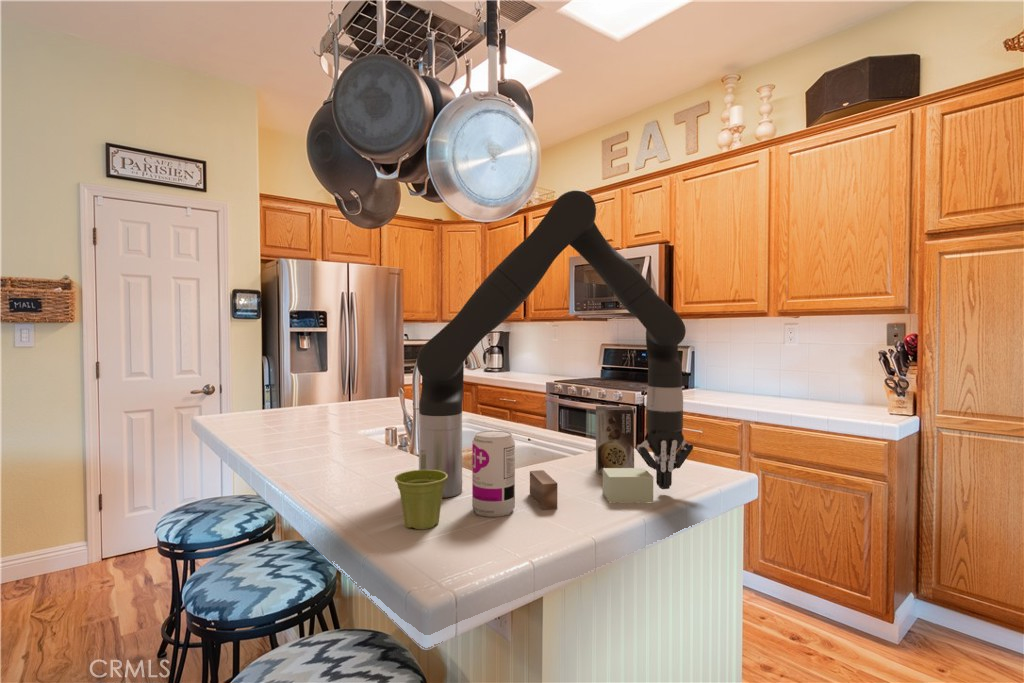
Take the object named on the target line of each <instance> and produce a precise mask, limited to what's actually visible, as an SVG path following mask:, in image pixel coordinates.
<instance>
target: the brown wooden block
mask: <svg viewBox="0 0 1024 683" xmlns="http://www.w3.org/2000/svg"><path fill="white" fill-rule="evenodd" d="M529 495H530V496H531V498H532V499H533V500H534V501H535V503H537V505H538V506H539V507H540V508H541V510H556V509H558V482H557V481H556V480H555V479H553V478H552V477H551V476H550V475H549V474H548V473H547V472H546V471H545V470H543V469H542V470H541V469H539V470H529Z"/></svg>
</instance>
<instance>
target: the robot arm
mask: <svg viewBox="0 0 1024 683" xmlns="http://www.w3.org/2000/svg"><path fill="white" fill-rule="evenodd" d="M596 217H597V206H596V202H595V200H594V199H593V197H592V196H591V195H590V194H589V193H587V192H586V191H584V190H581V189H580V190H579V189H574V190H569V191H567V192H564V193H563V194H561V195H560V196H558V198H557V199H556V200H555V202H554V203H553V204H552V206H551V207H550V208H549V210H548V211H547V212H546V213H545V215H544V216H543V218H542V220H540V222H539V224H538V225H537V226H536V227H535V228H534V229H533V231H532V232H531V233H530V234H529V235H528V236H526V238H525V239H524V240H523V241H522V242H521V243H519V244H518V245H517V246H516V247H515V248H514V249H513V250H512V251H511V252H510V253H509V254H508V255H506V256H505V258H504V259H503V260H501V262H500V263H499V264H498V265H497V266H496V267H495V268H494V269H493V270H492V271H491V272H490V274H488V275H487V277H486V278H485V279H484V280H483V281H482V283H480V285H479V286H478V287H477V288H476V290H475V291H474V292H473V293H472V295H470V297H469V298H468V300H467V301H466V302H465V304H464V305H462V307H461V309H460V310H459V312H458V313H457V314H456V315H455V316H454V317H453V319H452V320H450V321H449V322H448V324H446V325H445V326H444V327H443V328H442V329H441V330H440V331H439V332H437V333H436V334H435V335H434V336H432V337H431V338H430V340H429V339H428V341H427V342H425V344H423V345H422V347H420V349H419V351H418V354H417V357H416V367H417V370H418V373H419V375H420V376H421V393H420V399H419V403H418V404H419V405H418V408H419V409H418V410H419V411H418V413H419V415H418V418H419V419H418V420H419V425H418V427H419V428H418V430H419V433H418V435H419V436H418V440H419V441H418V442H419V444H418V445H419V446H418V470H438V471H442V472H445V473H446V474H447V475H448V477H447V479H446V480H445V485H444V487H443V493H442V499H445V498H450V497H451V498H452V497H455V496H459V495H461V493H462V492H463V402H464V401H463V400H464V371H465V370H464V366H465V365H464V364H465V363H464V362H465V361H466V360H467V359H468V357H469V356H470V354H471V353H472V351H473V350H474V349H475V348H476V346H478V344H479V343H480V342H481V341H482V340H483V339H484V338H485V337H486V336H487V335H489V334H490V333H491V332H492V331H494V330H495V329H496V328H497V327H498V326H500V325H501V324H502V323H503V322H504V321H506V320H507V319H508V318H509V317H510V316H511V315H512V314H513V313H514V312H515V311H516V310H517V309H518V308H519V307H520V306H522V304H523V302H524V301H526V300H527V299H528V297H530V295H531V294H532V293H533V291H534V290H535V288H537V286H538V285H539V284H540V282H541V280H542V279H543V277H544V276H545V275H546V273H547V272H548V270H549V268H550V267H551V265H552V264H553V263H554V261H555V260H556V259H557V258H558V256H559V255H560V254H561V253H562V252H563V251H564V250H565V249H566V248H567V247H568V246H570V247H571V248H573V250H574V251H576V252H577V253H578V254H579V255H580V256H581V257H582V258H583V259H584V260H585V261H586V262H587V263H588V264H589V265H590V266H591V268H593V270H594V271H595V273H597V274H598V276H599V277H600V278H601V279H602V280H603V281H602V282H604V283H605V284H606V286H607V287H608V289H610V291H611V292H612V293H613V295H614V296H615V297H616V298H617V300H618V301H619V302H620V304H621V305H622V306H623V308H625V309H626V311H627V312H628V313H629V314H631V315H632V316H634V317H635V318H637V320H638V321H639V322H640V323H641V325H642V326H643V327H644V328H645V329H646V330H645V343H646V344H645V345H646V354H647V361H648V370H647V390H646V391H647V392H646V403H645V405H646V418H645V419H646V420H645V421H646V422H645V423H646V426H645V427H646V433H645V437H644V441H642V442H641V443H640V444H636V445H634V449H635V450H636V451H637V453H638V454H639V456H640V457H641V458H642V460H643V461H644V463H646V465H647V467H649V468H651V469H652V470H655V471H656V473H655V474H656V476H655V477H656V480H655V481H656V486H658V488H659V489H661V490H670V487H671V486H672V483H673V482H672V481H673V477H672V475H673V473H672V472H673V471H674V470H675V469H680V468H681V467H682V465H683V464H684V462H685V461H686V460H687V458H688V457H689V455H690V454H691V452H692V451H693V449H694V445H693V444H691V443H689V442H687V441H686V440H685V438H684V437H685V436H684V434H683V429H684V395H683V365H682V362H681V361H680V359H679V347H678V345H680V344H681V343H682V342H683V340H684V339H685V336H686V332H687V329H686V326H685V323H684V320H682V318H681V316H680V315H679V314H678V313H677V312H676V310H674V309H673V308H672V307H671V306H670V305H669V304H668V303H667V302H666V301H665V300H664V299H662V297H660V295H659V294H657V293H656V291H655V290H654V288H653V287H652V286H651V284H650V283H649V282H648V280H646V278H645V277H644V276H643V275H642V273H641V272H640V271H639V270H638V268H636V267H635V265H633V264H632V262H630V261H629V260H628V259H626V258H625V256H623V255H621V253H620V252H618V251H617V250H616V249H615V248H614V247H613V246H612V245H611V244H610V243H609V242H608V241H607V239H606V238H605V237H604V235H603V234H602V232H601V231H600V229H599V228H598V226H597V224H596V222H595V221H596ZM650 451H651V452H652V454H653V456H652V455H651V454H650Z"/></svg>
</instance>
